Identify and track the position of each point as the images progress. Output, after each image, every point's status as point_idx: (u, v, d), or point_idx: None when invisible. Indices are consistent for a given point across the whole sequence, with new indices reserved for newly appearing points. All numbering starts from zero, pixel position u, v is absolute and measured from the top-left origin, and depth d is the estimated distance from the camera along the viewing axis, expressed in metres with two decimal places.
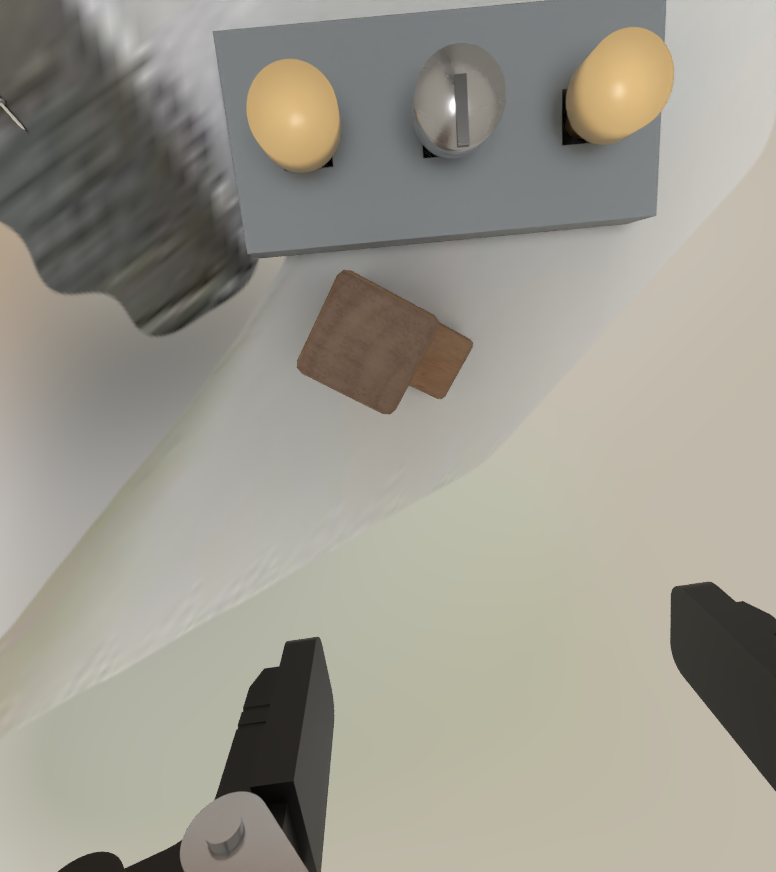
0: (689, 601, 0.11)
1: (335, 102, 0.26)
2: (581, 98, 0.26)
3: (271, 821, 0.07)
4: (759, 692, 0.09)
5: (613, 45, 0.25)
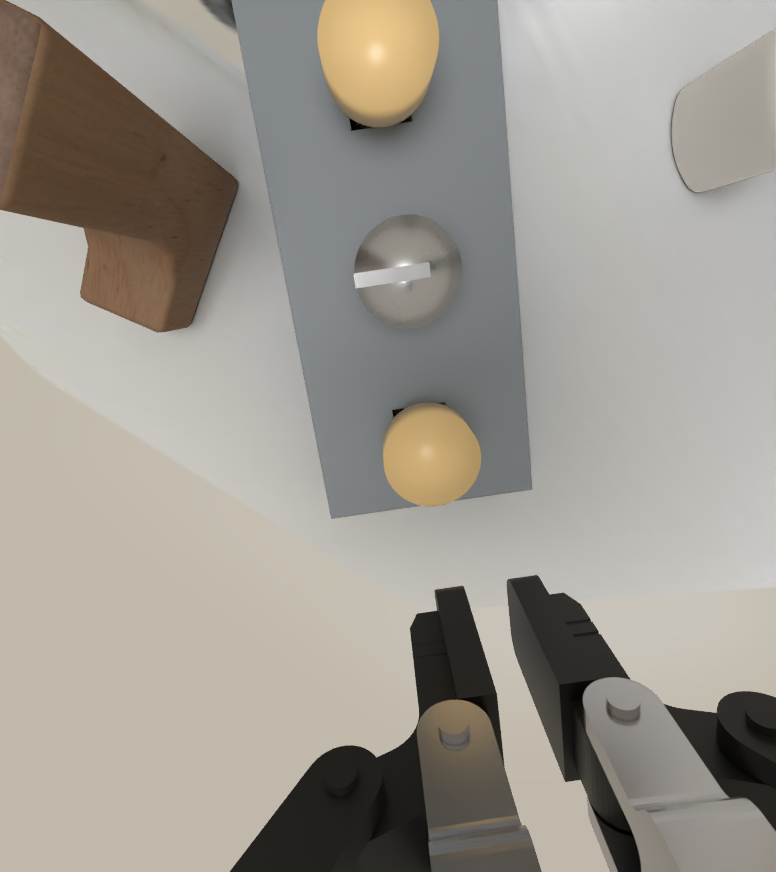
0: (513, 593, 0.12)
1: (392, 104, 0.20)
2: (415, 415, 0.24)
3: (492, 741, 0.08)
4: (542, 671, 0.10)
5: (464, 439, 0.24)
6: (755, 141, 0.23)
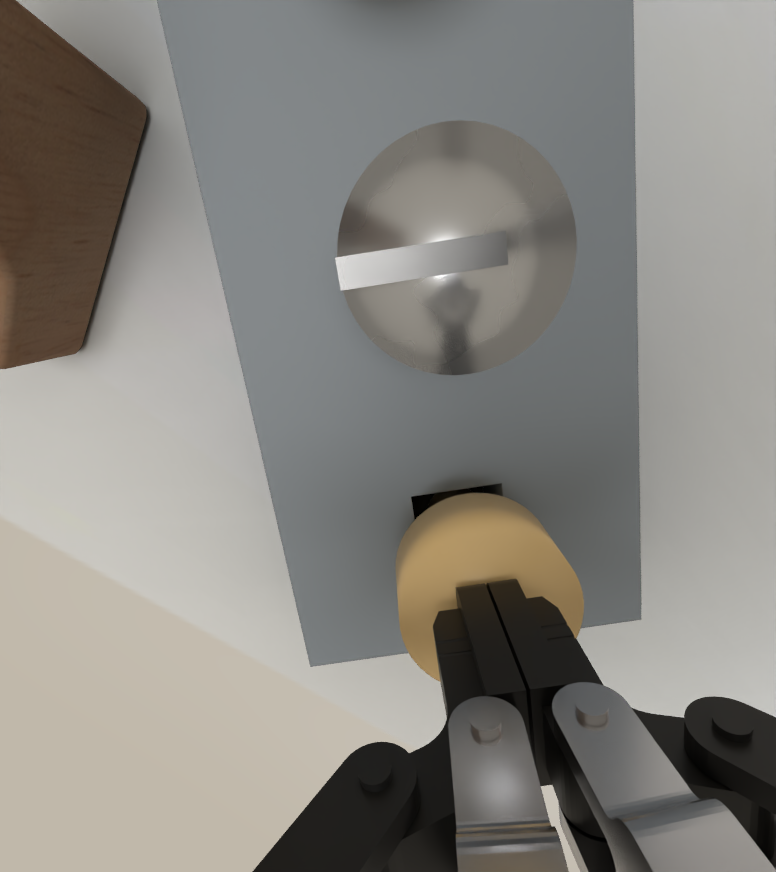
0: (491, 596, 0.12)
1: None
2: (459, 531, 0.12)
3: (524, 740, 0.08)
4: None
5: (553, 578, 0.12)
6: None
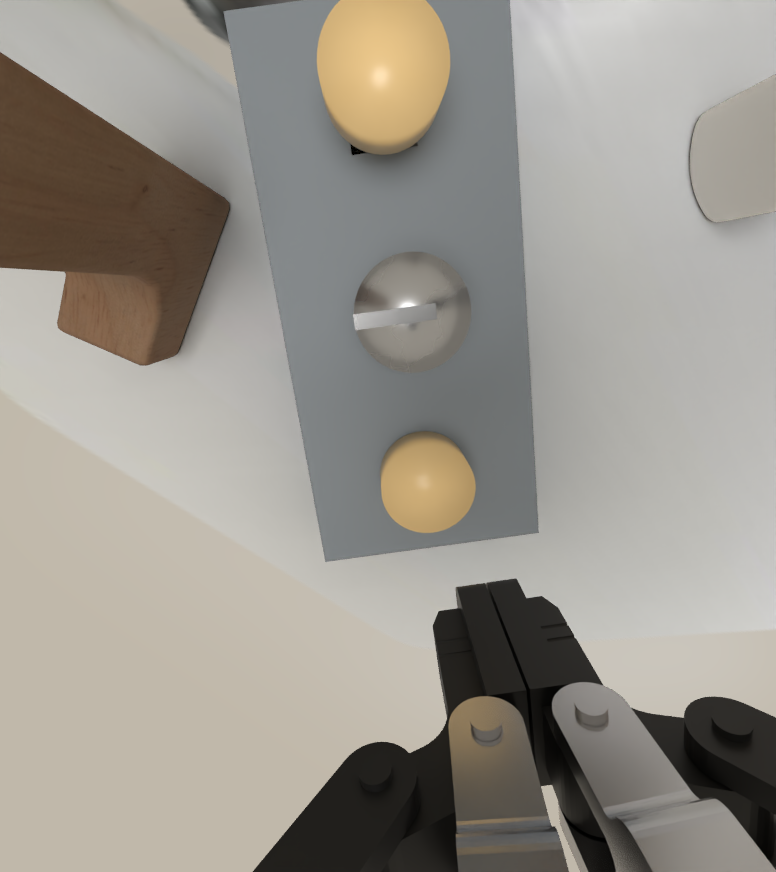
0: (491, 596, 0.12)
1: (398, 133, 0.18)
2: (412, 445, 0.25)
3: (524, 740, 0.08)
4: None
5: (459, 470, 0.25)
6: None
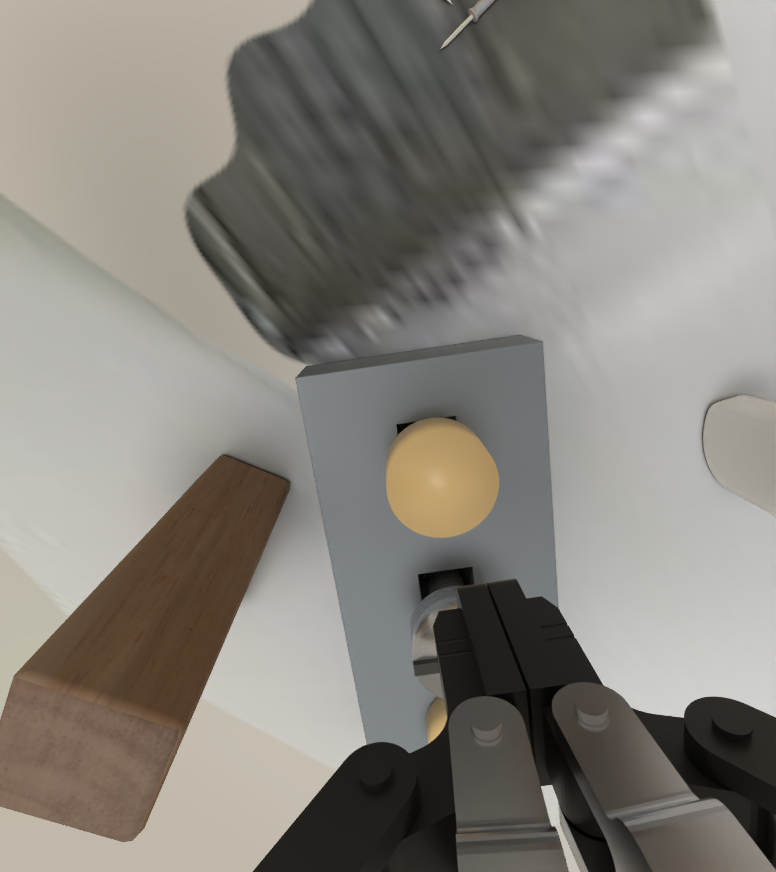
0: (491, 596, 0.12)
1: (454, 534, 0.21)
2: None
3: (525, 740, 0.08)
4: None
5: None
6: None
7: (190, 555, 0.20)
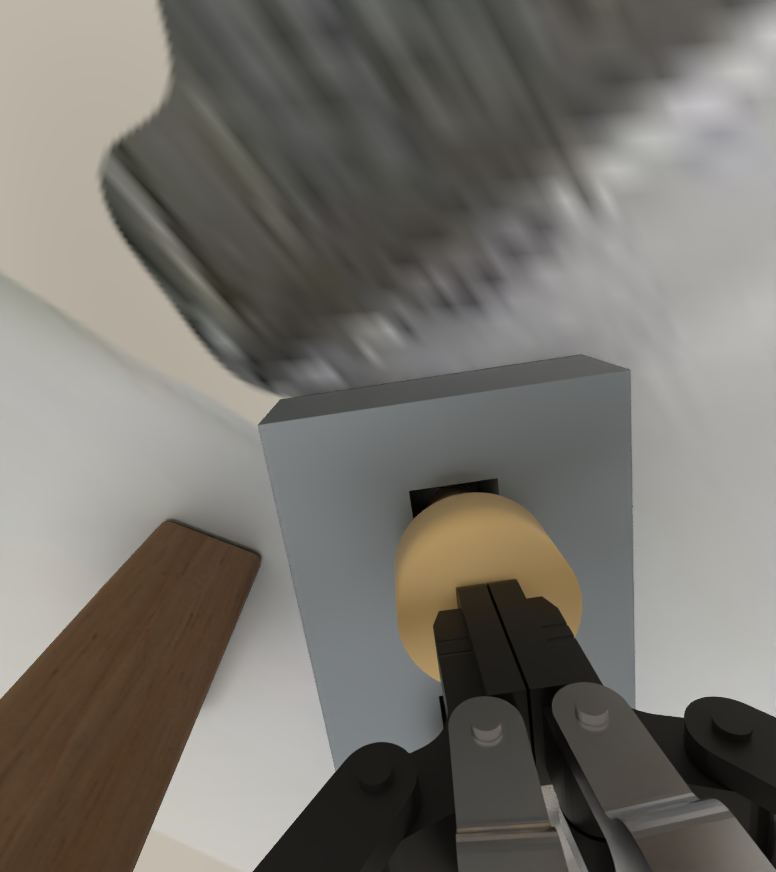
0: (491, 597, 0.12)
1: None
2: None
3: (524, 740, 0.08)
4: None
5: None
6: None
7: (62, 749, 0.11)
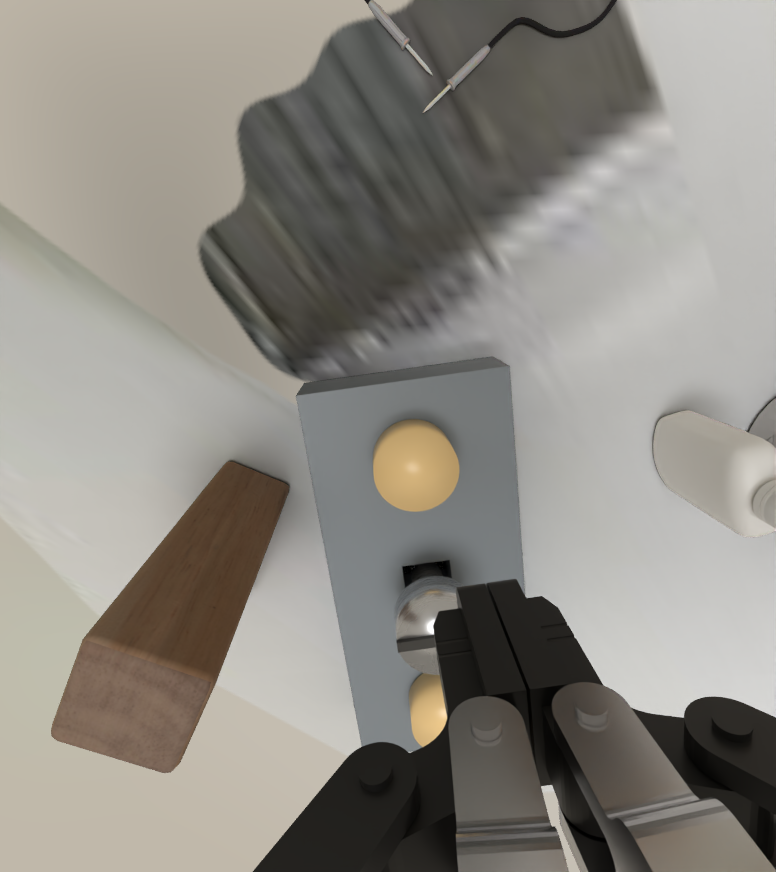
0: (491, 597, 0.12)
1: (425, 509, 0.28)
2: (436, 693, 0.32)
3: (524, 740, 0.08)
4: None
5: None
6: (718, 511, 0.29)
7: (208, 548, 0.23)
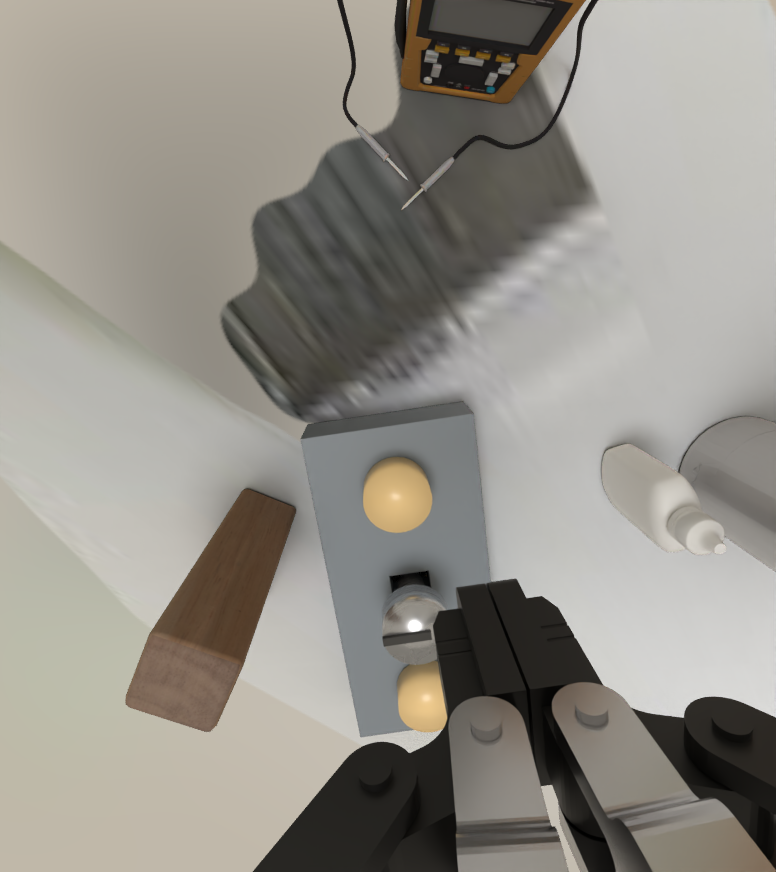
0: (491, 597, 0.12)
1: (405, 530, 0.34)
2: (418, 681, 0.38)
3: (524, 740, 0.08)
4: None
5: None
6: (646, 531, 0.35)
7: (233, 564, 0.30)
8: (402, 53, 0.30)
